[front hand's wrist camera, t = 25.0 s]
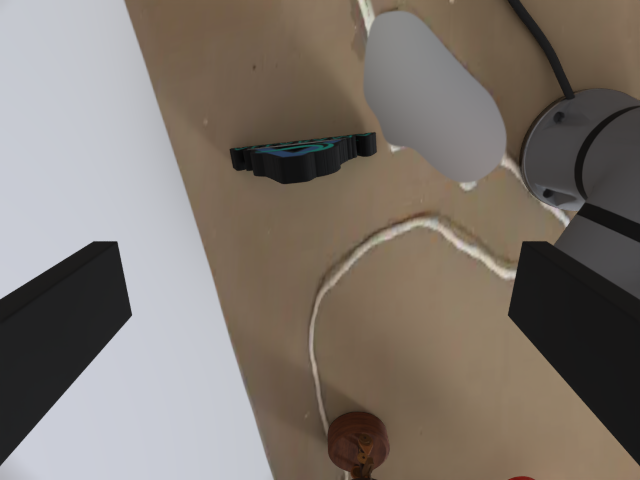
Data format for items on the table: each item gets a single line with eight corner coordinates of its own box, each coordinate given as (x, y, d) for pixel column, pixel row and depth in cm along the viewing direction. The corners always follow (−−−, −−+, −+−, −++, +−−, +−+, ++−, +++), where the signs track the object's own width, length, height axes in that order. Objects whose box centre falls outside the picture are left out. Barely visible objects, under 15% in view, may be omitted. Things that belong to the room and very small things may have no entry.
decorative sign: (234, 167, 50) (200, 193, 36) (230, 148, 49) (195, 167, 35) (375, 151, 49) (398, 171, 35) (374, 132, 49) (397, 145, 34)
